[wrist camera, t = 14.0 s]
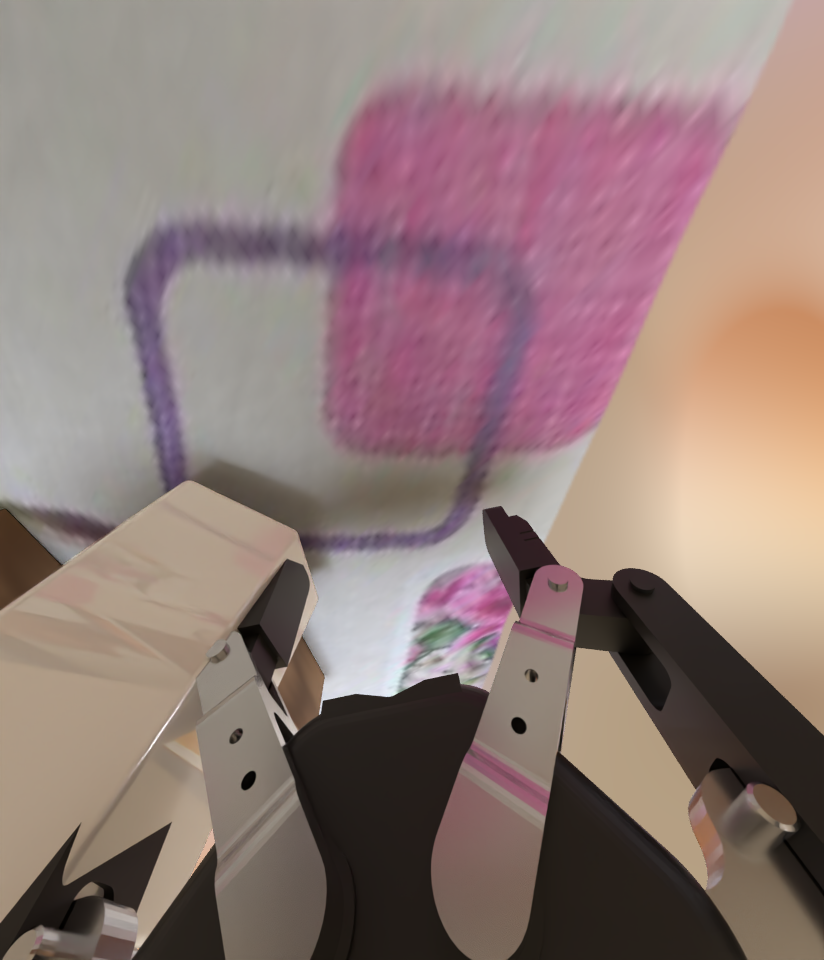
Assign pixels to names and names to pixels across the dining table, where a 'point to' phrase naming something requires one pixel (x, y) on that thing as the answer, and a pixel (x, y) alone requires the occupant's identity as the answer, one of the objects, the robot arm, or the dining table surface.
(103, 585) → the jar
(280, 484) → the dining table surface
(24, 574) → the block
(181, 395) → the dining table surface
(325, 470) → the dining table surface
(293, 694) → the socket block
